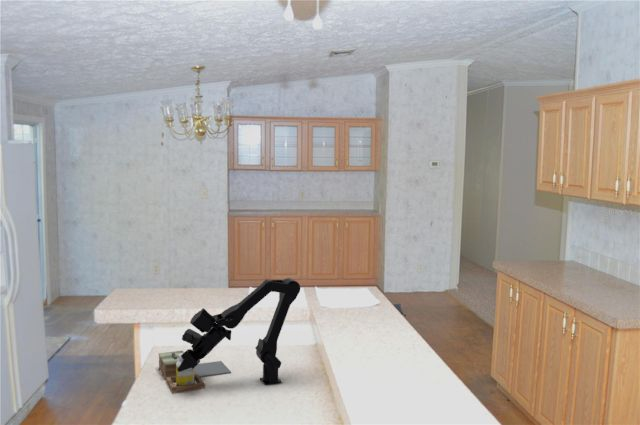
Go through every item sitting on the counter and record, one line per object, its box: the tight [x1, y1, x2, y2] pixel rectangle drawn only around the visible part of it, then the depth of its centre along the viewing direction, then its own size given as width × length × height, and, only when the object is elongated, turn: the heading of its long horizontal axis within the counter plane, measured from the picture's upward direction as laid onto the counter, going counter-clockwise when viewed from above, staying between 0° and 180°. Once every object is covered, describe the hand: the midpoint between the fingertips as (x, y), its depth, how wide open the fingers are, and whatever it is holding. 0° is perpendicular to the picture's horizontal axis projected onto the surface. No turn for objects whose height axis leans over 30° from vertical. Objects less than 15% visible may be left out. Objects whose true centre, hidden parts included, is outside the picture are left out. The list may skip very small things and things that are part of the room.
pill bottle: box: [175, 353, 195, 386], centre depth 197 cm, size 6×6×12 cm
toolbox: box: [158, 350, 206, 394], centre depth 204 cm, size 28×11×7 cm, turn 26°
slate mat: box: [194, 360, 232, 379], centre depth 214 cm, size 14×14×1 cm
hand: (181, 367), depth 197 cm, fingers closed on pill bottle, 6 cm apart
